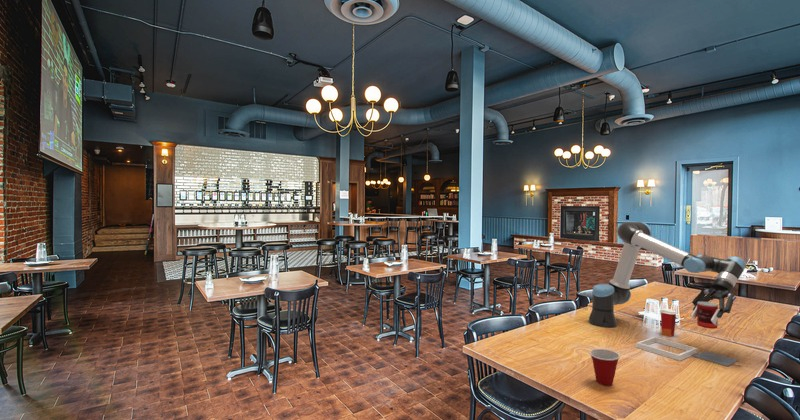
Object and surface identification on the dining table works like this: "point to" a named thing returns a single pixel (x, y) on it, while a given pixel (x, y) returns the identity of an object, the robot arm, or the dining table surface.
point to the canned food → (706, 314)
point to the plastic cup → (604, 365)
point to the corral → (688, 351)
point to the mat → (716, 358)
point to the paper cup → (668, 321)
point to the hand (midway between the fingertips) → (702, 319)
